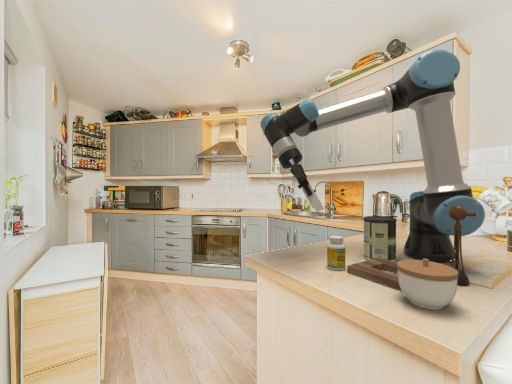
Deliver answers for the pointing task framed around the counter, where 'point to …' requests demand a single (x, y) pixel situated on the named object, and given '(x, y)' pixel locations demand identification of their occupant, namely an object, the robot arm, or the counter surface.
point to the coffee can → (380, 238)
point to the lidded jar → (427, 283)
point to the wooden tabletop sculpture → (459, 242)
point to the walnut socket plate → (377, 271)
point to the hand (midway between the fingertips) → (318, 208)
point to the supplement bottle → (336, 253)
